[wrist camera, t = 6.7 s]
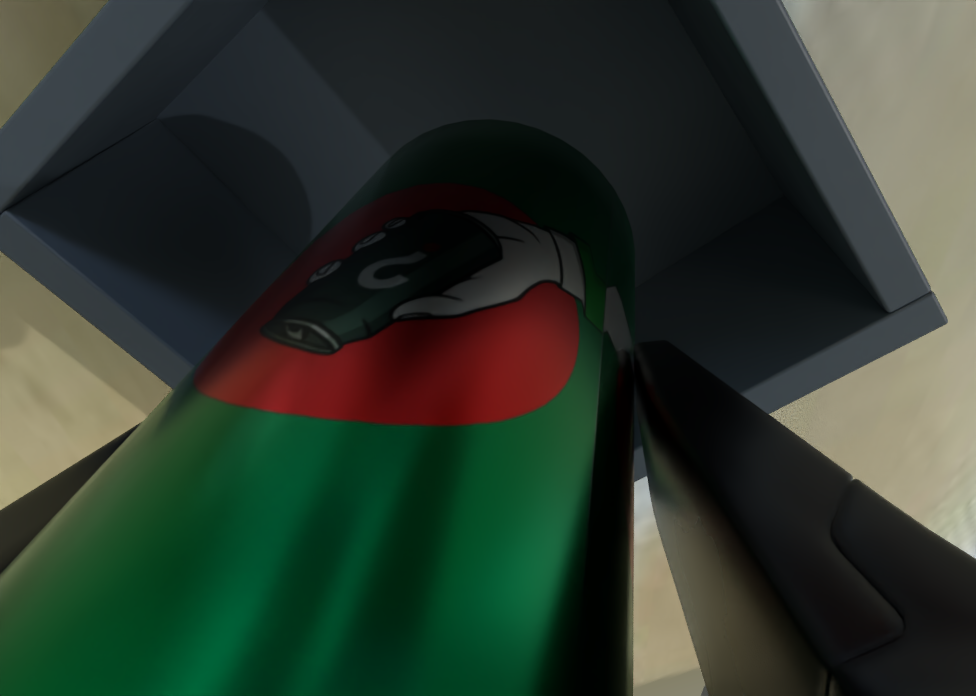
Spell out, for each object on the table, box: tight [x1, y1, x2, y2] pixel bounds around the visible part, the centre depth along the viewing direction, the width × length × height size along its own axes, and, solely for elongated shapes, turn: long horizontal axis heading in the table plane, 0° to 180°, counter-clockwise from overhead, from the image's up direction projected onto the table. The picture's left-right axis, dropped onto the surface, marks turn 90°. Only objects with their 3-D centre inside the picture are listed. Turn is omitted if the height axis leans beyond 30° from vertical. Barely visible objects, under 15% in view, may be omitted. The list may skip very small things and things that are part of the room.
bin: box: [0, 0, 948, 482], centre depth 15 cm, size 13×13×6 cm
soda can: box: [0, 119, 635, 696], centre depth 8 cm, size 5×5×12 cm
